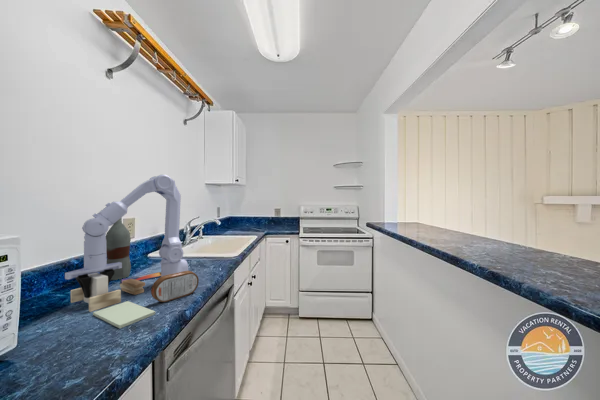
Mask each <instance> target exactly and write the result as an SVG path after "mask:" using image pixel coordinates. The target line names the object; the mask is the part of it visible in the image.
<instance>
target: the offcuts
mask: <svg viewBox="0 0 600 400" xmlns="http://www.w3.org/2000/svg"><path fill="white" fill-rule="evenodd" d="M145 286H146V282H145V281H138V280H135V279H127V280H124V281H122V284H121V283H120V284H119V288H120V290H121V292H126V293H129V294H130V295H134V296H136V295H139V294H143V293H145V289H144V288H143V287H145Z"/></svg>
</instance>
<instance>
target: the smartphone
mask: <svg viewBox="0 0 600 400" xmlns="http://www.w3.org/2000/svg"><path fill="white" fill-rule="evenodd" d="M160 277H161V271H160V272H159V271H158V272H154V273H153V272H152V273H147V274H142V275H136V276H131V277H127V278H123V279H120V284H122V281H124V280H127V279H135V280H138V281H142V282H145V281H148V280H156V279H158V278H160ZM155 278H156V279H155ZM144 280H145V281H144Z"/></svg>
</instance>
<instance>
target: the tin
mask: <svg viewBox="0 0 600 400" xmlns="http://www.w3.org/2000/svg"><path fill="white" fill-rule="evenodd" d="M199 279H200V278H199V276H198V275H197V274H196V273H195V272H193V271H192V270H188V271H183V272H178V273H174V274H169V275H165V276H162V277H160V278H156V279H155V281H154V282H153V284H152V286H151V290H150V294H151V297H152V298H153V299H154V300H156V301H158V302H160V303H166V302H170V301H174V300H177V299H179V298H180V299H181V298H184V297H187V296H190V295H191V294H193V293H194V292H195V291H196V290H197V288H198V285H199V284H200V283H199V281H200V280H199Z"/></svg>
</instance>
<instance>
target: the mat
mask: <svg viewBox="0 0 600 400" xmlns="http://www.w3.org/2000/svg"><path fill="white" fill-rule="evenodd" d="M154 315H156V311H155V310H154V309H150V308H147V307H146V306H145V307H144V306H142V305H140V304H136V303H134V302H132V301H129V300H127V301H123V302H120V303H117V304H114V305H111V306H108V307H104V308H101V309H98V310H95V311H92V316H94V317H96V318H98V319H100V320H101V321H104V322H106V323H108V324H110V325H112V326H114V327H116V328H118V329H122V328H124V327H127V326H130V325H133V324H135V323H137V322H140V321H142V320H145V319H147V318H149V317H152V316H154Z"/></svg>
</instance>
